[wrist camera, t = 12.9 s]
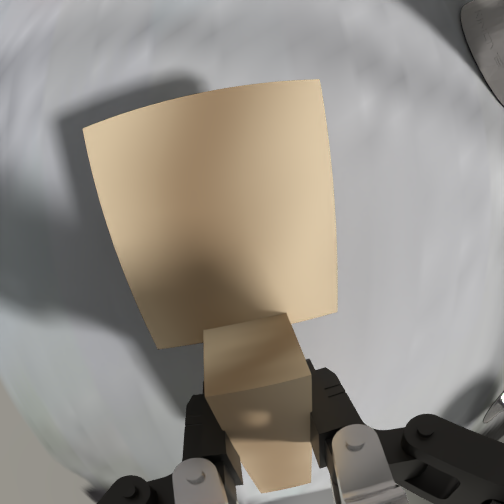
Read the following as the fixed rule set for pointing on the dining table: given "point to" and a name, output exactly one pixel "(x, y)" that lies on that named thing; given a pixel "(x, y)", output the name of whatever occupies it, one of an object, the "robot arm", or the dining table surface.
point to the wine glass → (495, 409)
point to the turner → (230, 249)
